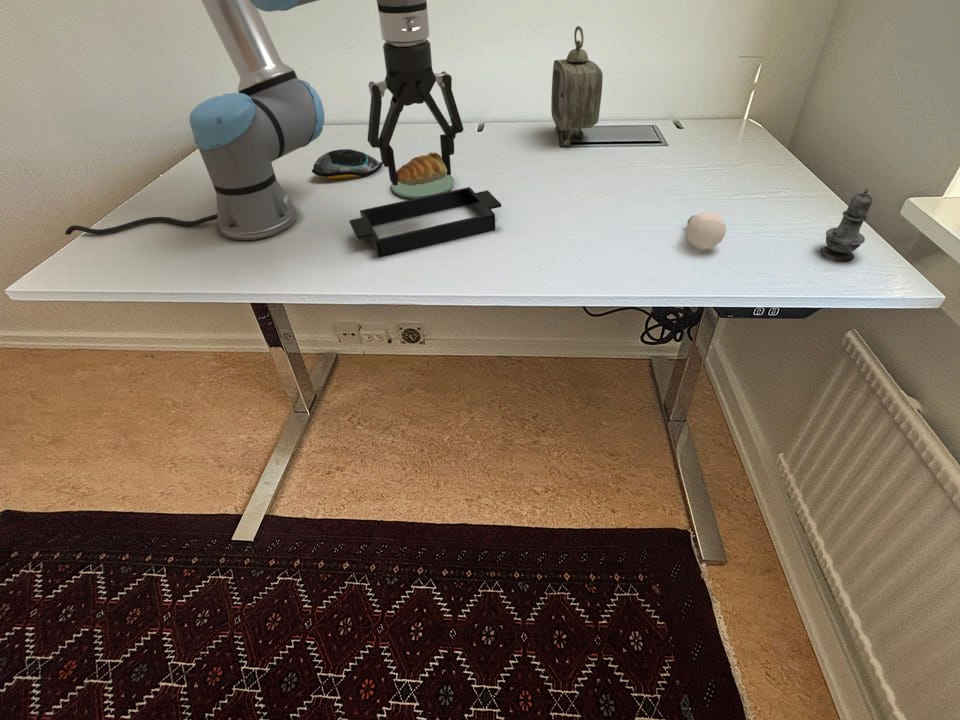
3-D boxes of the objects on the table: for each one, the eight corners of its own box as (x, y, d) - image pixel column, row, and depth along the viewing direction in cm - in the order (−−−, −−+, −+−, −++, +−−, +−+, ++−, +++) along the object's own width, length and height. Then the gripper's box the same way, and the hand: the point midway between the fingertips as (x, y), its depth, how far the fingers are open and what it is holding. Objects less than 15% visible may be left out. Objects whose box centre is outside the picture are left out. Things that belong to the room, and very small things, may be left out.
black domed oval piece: (388, 172, 127) (384, 147, 124) (318, 188, 122) (312, 163, 118) (377, 160, 133) (373, 136, 129) (310, 174, 128) (304, 150, 124)
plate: (401, 205, 114) (401, 201, 114) (385, 180, 124) (384, 176, 123) (463, 192, 118) (462, 188, 117) (442, 169, 127) (441, 165, 127)
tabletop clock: (549, 129, 144) (554, 21, 127) (582, 127, 145) (592, 19, 128) (561, 149, 133) (569, 34, 117) (597, 146, 134) (609, 32, 117)
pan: (364, 261, 98) (360, 244, 96) (349, 229, 107) (345, 213, 105) (508, 227, 105) (508, 210, 103) (482, 199, 115) (481, 184, 112)
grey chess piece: (838, 266, 91) (870, 200, 83) (810, 250, 95) (838, 185, 87) (863, 258, 92) (897, 192, 84) (834, 242, 96) (864, 178, 88)
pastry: (408, 191, 96) (405, 171, 93) (388, 180, 100) (385, 160, 97) (450, 177, 100) (449, 156, 97) (430, 166, 104) (428, 146, 101)
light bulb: (682, 200, 100) (699, 212, 91) (717, 207, 101) (737, 219, 91) (670, 235, 103) (686, 249, 94) (704, 241, 103) (722, 257, 94)
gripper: (340, 54, 79) (366, 197, 94) (480, 37, 85) (483, 174, 100) (331, 43, 84) (357, 180, 99) (463, 28, 90) (469, 159, 105)
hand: (420, 177), depth 100 cm, fingers closed on pastry, 10 cm apart
